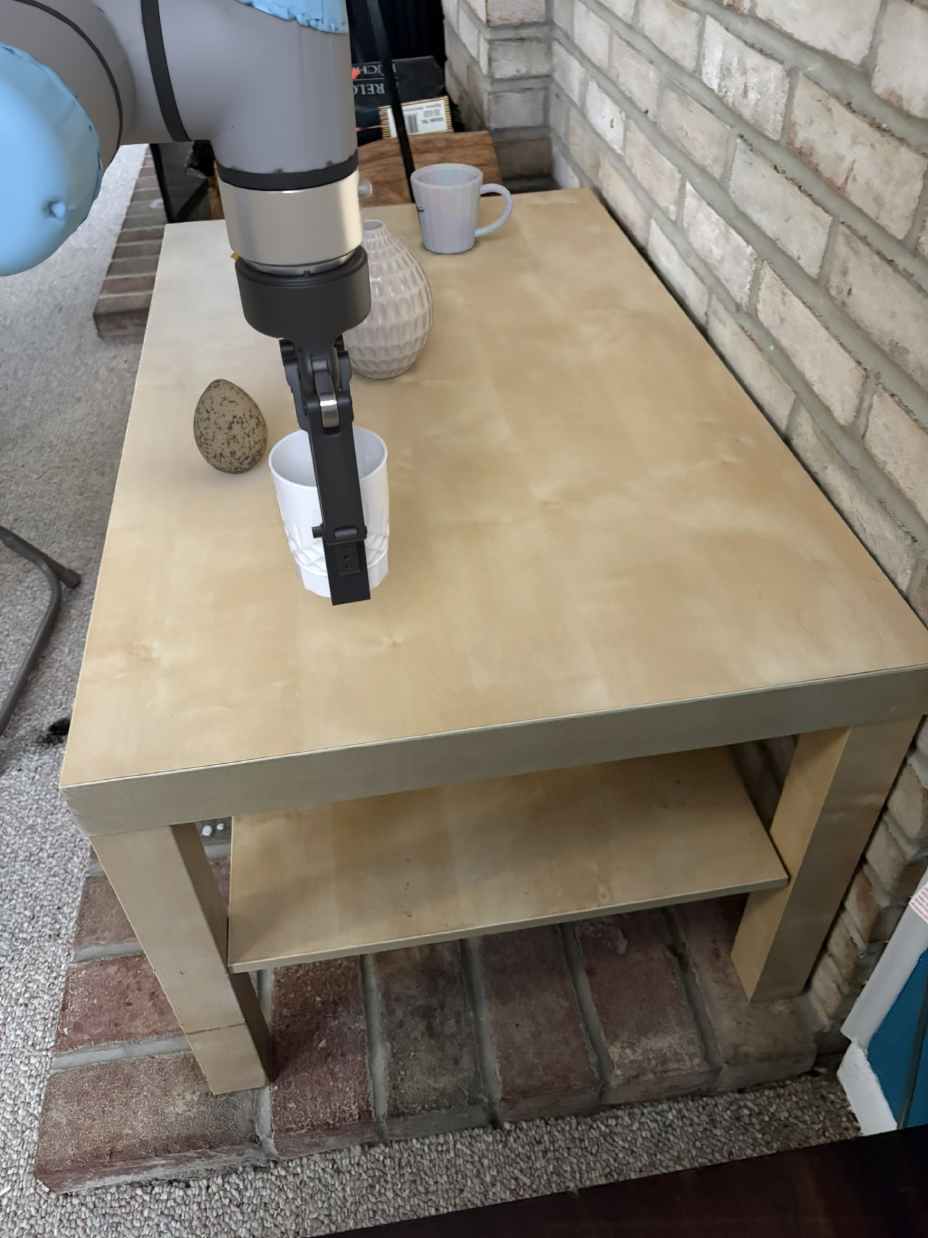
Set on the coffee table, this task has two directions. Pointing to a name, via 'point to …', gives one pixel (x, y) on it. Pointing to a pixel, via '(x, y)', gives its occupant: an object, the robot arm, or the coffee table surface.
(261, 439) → the decorative egg
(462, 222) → the mug
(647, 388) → the coffee table surface
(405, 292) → the vase
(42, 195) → the robot arm
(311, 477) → the white cup
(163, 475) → the coffee table surface
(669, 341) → the coffee table surface
